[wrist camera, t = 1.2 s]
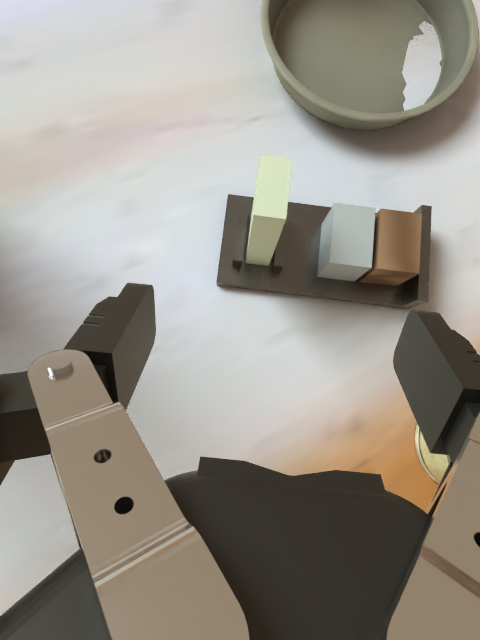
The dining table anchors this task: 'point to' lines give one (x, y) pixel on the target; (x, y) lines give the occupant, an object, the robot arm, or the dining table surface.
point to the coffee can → (430, 458)
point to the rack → (308, 259)
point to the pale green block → (268, 208)
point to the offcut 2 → (395, 248)
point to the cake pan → (364, 54)
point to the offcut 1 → (346, 242)
